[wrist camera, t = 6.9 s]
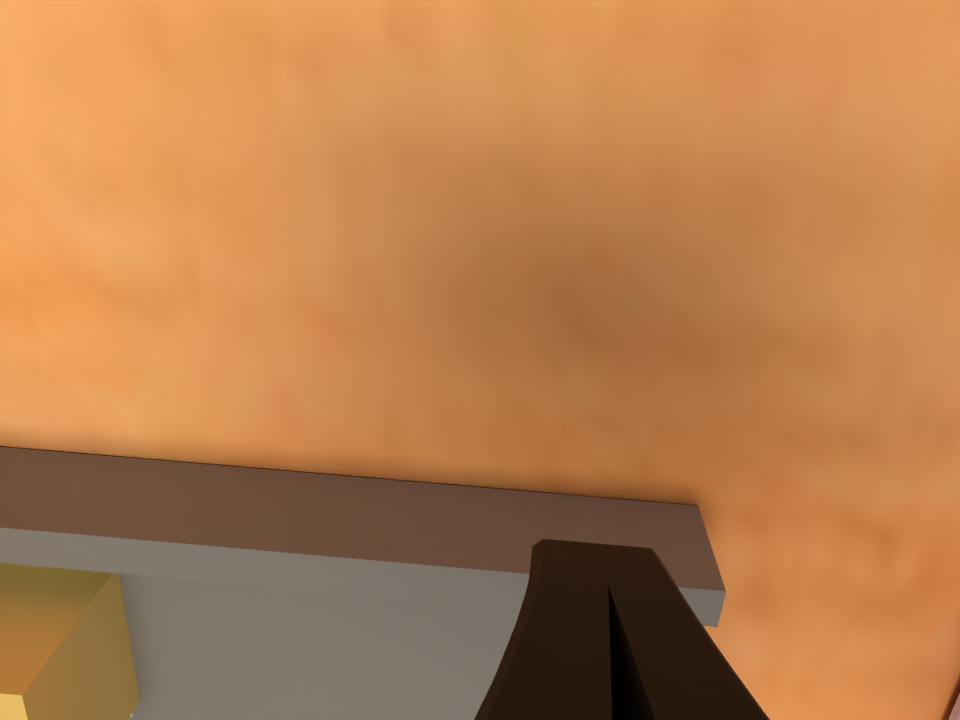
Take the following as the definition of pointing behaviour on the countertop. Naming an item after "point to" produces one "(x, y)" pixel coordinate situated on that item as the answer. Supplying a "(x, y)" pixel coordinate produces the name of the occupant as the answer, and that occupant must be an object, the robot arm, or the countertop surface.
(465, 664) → the trap tray
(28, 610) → the block
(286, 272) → the countertop surface
